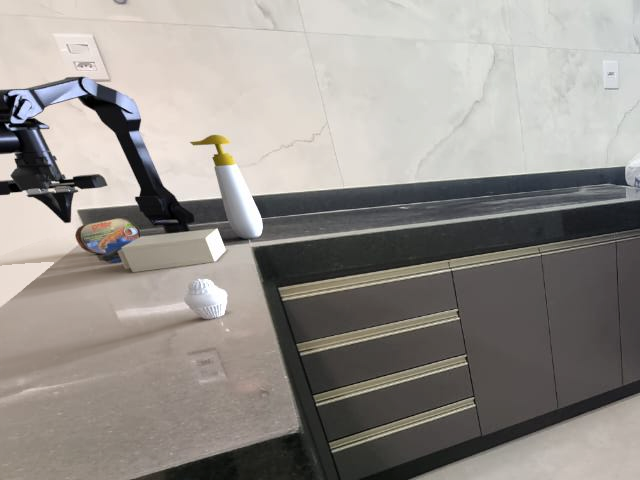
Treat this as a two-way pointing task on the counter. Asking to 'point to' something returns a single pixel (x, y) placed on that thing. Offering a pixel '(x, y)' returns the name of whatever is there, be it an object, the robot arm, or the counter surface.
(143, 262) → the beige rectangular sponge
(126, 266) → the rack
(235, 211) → the soap bottle
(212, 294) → the muffin
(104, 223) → the tin
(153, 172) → the robot arm
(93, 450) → the counter surface
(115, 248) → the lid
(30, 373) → the counter surface
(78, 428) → the counter surface
